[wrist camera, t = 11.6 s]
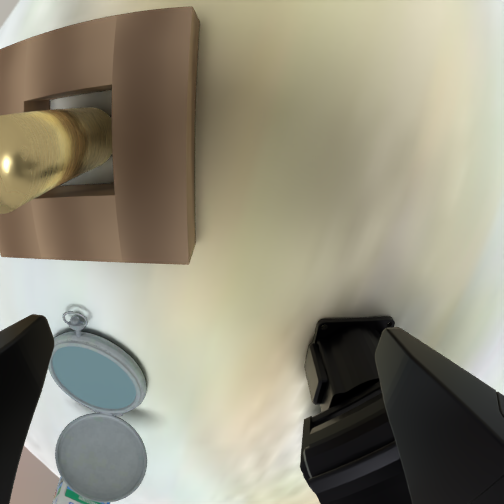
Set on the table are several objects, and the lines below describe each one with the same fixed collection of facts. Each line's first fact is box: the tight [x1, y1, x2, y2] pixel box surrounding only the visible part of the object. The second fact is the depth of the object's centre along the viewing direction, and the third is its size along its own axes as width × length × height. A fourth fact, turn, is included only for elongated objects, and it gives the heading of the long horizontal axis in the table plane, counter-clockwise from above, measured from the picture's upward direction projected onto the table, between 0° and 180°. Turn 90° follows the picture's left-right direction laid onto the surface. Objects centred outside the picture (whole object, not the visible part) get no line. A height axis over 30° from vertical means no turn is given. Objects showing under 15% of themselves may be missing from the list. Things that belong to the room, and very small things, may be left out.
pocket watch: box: [48, 311, 147, 503], centre depth 21 cm, size 10×11×15 cm
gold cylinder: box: [0, 107, 112, 214], centre depth 13 cm, size 4×4×9 cm
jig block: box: [0, 7, 200, 265], centre depth 16 cm, size 14×14×3 cm
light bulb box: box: [52, 477, 110, 504], centre depth 29 cm, size 11×7×11 cm, turn 145°
